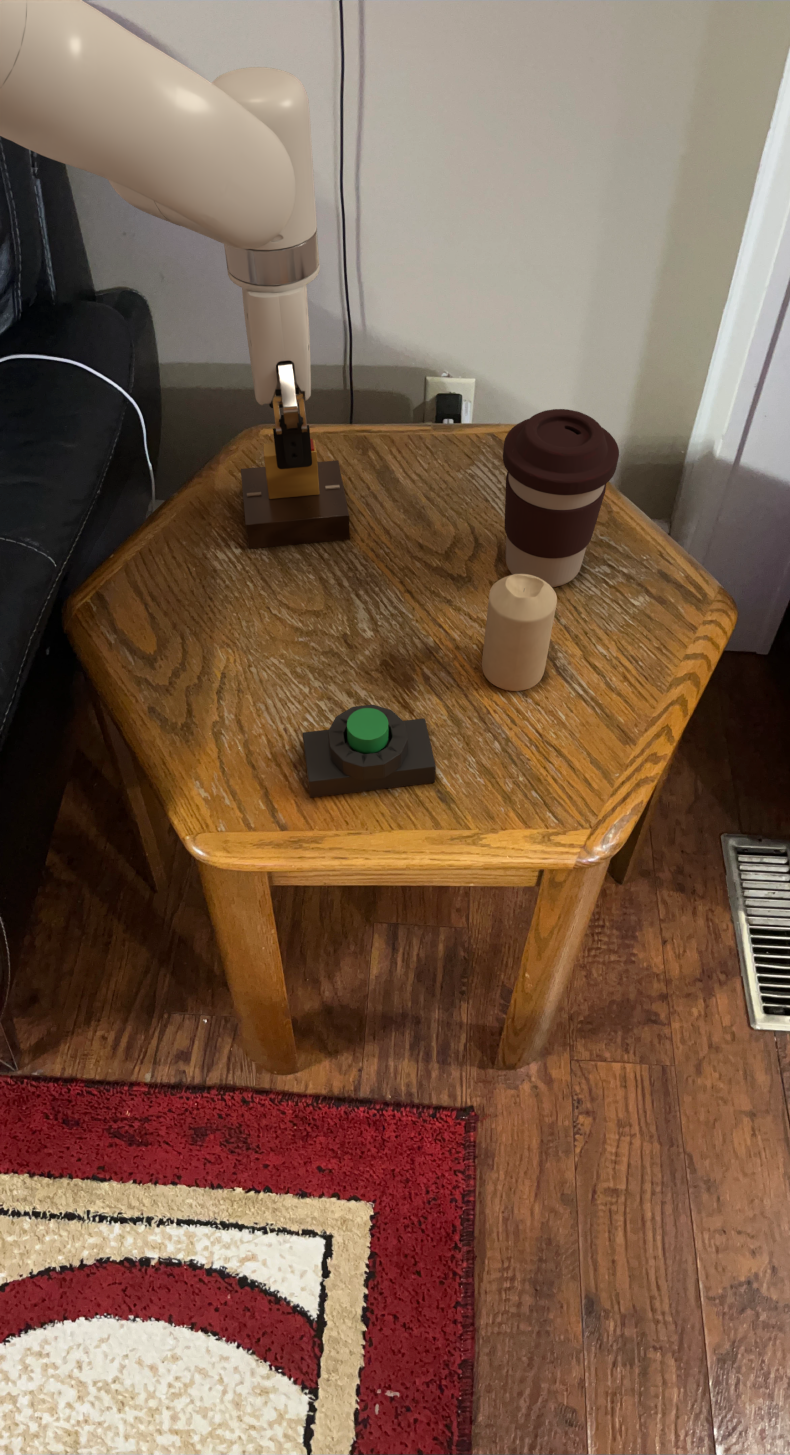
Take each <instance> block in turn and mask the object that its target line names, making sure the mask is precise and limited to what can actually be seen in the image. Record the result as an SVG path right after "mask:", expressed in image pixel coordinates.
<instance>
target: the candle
mask: <svg viewBox="0 0 790 1455" xmlns="http://www.w3.org/2000/svg"><path fill="white" fill-rule="evenodd" d="M487 603H488V604H487V611H486V620H485V630H484V639H483V650H482V659H481V666H482V667H481V668H482V672H483V676H484V677H485V678H486V680H488V682H490V684H493V686H495V687H497V688H499V689H501V690H505V691H509V692H511V691H512V692H520V691H526V690H529V689H531V688H534V687H535V686H536V685H538V683H540V681H541V680H542V678H543V676H544V674H545V670H546V665H547V660H548V654H549V649H550V648H549V647H550V643H551V637H552V631H553V625H554V620H555V615H556V611H557V610H556V608H557V603H558V597H557V593H556V591H555V589H554V587H551V586H550V585H549V584H548V583H547V582H545V581H544V580H542V579H540V578H538V577H536V576H533V575H528V574H509V575H506V576H504V577H501V578H500V579H498V580H497V581H496V582H495V583H493V584H492V586H491V587H490V590H489V593H488V602H487Z"/></svg>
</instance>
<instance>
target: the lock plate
mask: <svg viewBox="0 0 790 1455" xmlns="http://www.w3.org/2000/svg"><path fill="white" fill-rule="evenodd" d="M317 464H318V479H319V495H308V496H298V497H287V498H276V499H269V495H268V486H267V478H266V469H265V466H259V467H258V466H257V467H246V468H240V478H241V490H242V501H243V511H244V522H245V523H244V524H245V529H246V538H247V545H248V549H249V550H252V549H253V550H254V549H263V548H273V547H283V546H293V545H304V544H312V543H313V544H315V543H325V542H334V541H345V540H350V539H351V530H350V529H351V528H350V513H349V507H348V503H347V498H346V492H345V487H344V482H343V478H342V472H341V467H340V462H339V460H337V459H336V460H325V461H317Z"/></svg>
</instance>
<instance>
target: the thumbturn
mask: <svg viewBox="0 0 790 1455" xmlns="http://www.w3.org/2000/svg"><path fill="white" fill-rule="evenodd" d="M310 441H311V453H312V465H311V466H309V467H300V468H290V469H279V468H278V467H277V461H276V452H275V443H273V442H272V443H263V444H262V451H263V452H262V453H263V460H264V467H265V469H266V478H267V486H268V495H269V499H276V498H287V497H298V496H308V495H319V479H318V464H317V462H318V454H317V453H318V452H317V446H316V440H315V439H313V438H310Z"/></svg>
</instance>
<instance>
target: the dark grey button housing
mask: <svg viewBox="0 0 790 1455" xmlns="http://www.w3.org/2000/svg"><path fill="white" fill-rule="evenodd" d="M363 708H373V709H377V710H379V711H381V712H382V713H383V714H384V715H385V716H386V717H387V719H388V742H387V744H386V746H385V747H384V748H383V749H381V750H380V751H378V752H375V753H371V754H365V753H360V752H357V751H356V750H354V749H353V748H352V747H351V746H350V745H349V743H348V738H347V720H348V718H349V716H350V715H351V714H352V713H353V712H355V711H357V710H359V709H363ZM429 734H430V733H429V731H428V726H427V721H426V718H425V717H424V718H423V717H422V718H416V719H415V718H414V719H406V720H403V719H402V718H401V717H400V716H399V715H397V714H396V713H395V712H394V711H393V710H392V709H390V708H386V707H382V706H379V705H376V704H365V705H355V706H352V707H350V708H348V709H346V710H345V711H343V712H341V713H339V714H338V715H336V716H335V718H334V720H333V722H332V723H331V725H330V726H329V728H328V729H319V730H311V731H303V732H302V741H303V749H304V750H303V751H304V759H305V768H306V775H307V782H308V784H307V785H308V792H309V798H319V797H320V798H321V797H328V796H335V795H345V794H352V793H359V792H361V793H362V792H368V791H376V790H384V789H393V788H401V787H402V788H403V787H410V786H418V785H424V784H426V785H427V784H433V783H434V784H435V782H436V770H437V769H436V768H437V765H436V760H435V757H434V753H433V747H432V744H431V739H430V735H429Z"/></svg>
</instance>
